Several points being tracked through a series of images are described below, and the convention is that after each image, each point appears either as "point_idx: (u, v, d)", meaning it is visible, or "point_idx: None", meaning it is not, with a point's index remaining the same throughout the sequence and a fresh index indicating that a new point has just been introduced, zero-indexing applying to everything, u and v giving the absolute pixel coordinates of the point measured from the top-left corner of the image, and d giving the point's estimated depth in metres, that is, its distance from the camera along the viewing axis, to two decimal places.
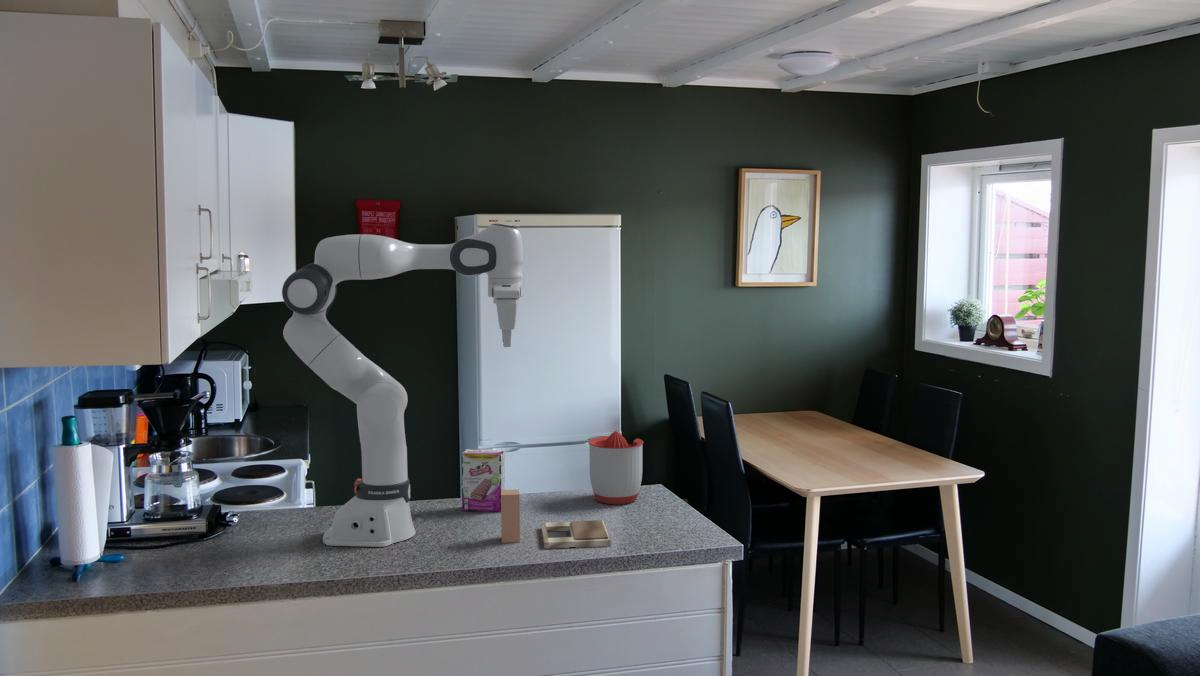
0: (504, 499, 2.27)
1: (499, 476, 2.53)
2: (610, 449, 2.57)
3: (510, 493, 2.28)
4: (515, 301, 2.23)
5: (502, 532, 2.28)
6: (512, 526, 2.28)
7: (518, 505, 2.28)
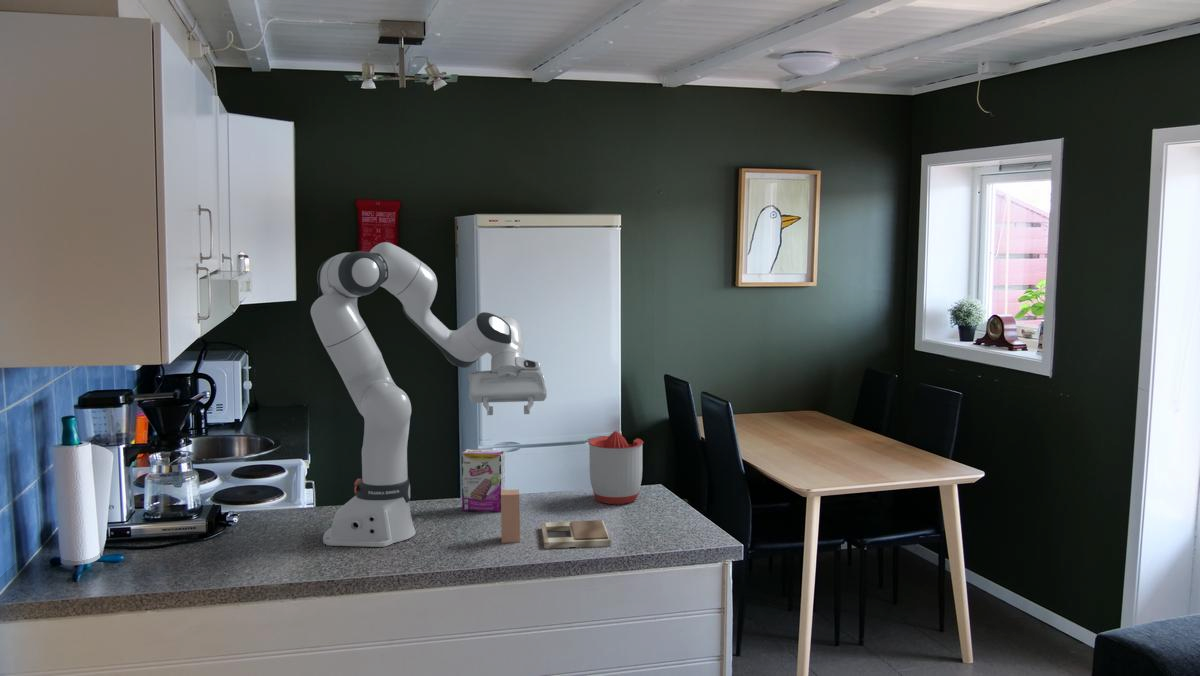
0: (504, 499, 2.27)
1: (499, 476, 2.53)
2: (610, 449, 2.57)
3: (510, 493, 2.28)
4: None
5: (502, 532, 2.28)
6: (512, 526, 2.28)
7: (518, 505, 2.28)
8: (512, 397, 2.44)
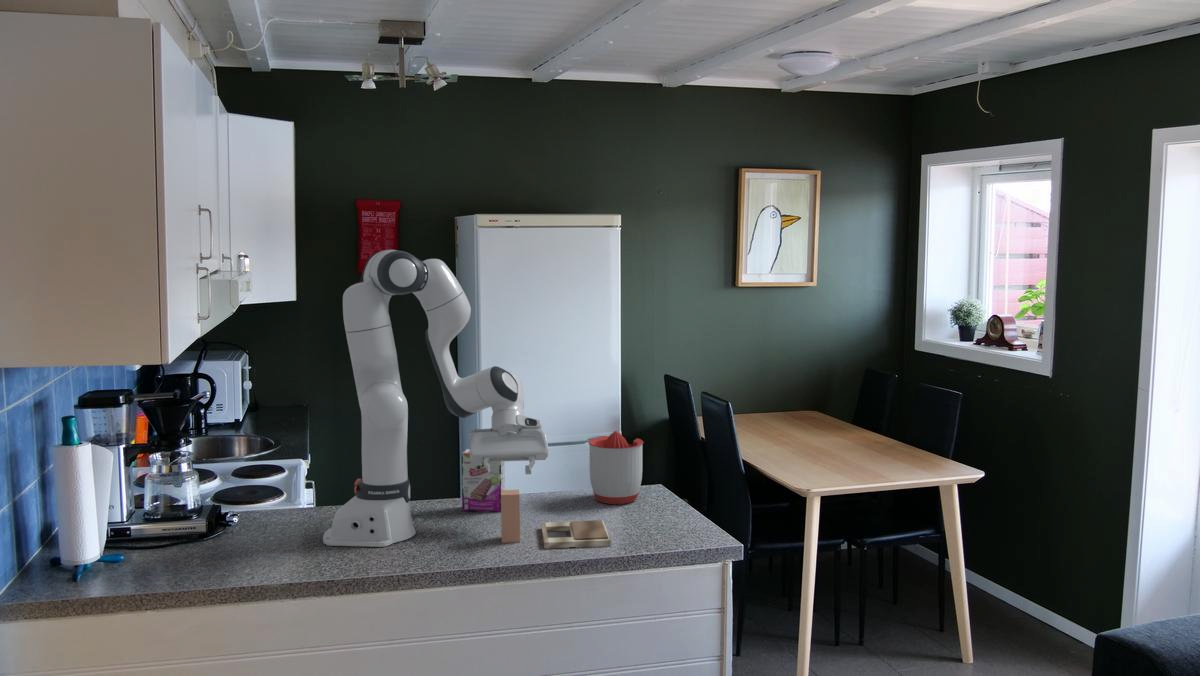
0: (504, 499, 2.27)
1: (499, 476, 2.53)
2: (610, 449, 2.57)
3: (510, 493, 2.28)
4: None
5: (502, 532, 2.28)
6: (512, 526, 2.28)
7: (518, 505, 2.28)
8: (513, 456, 2.40)
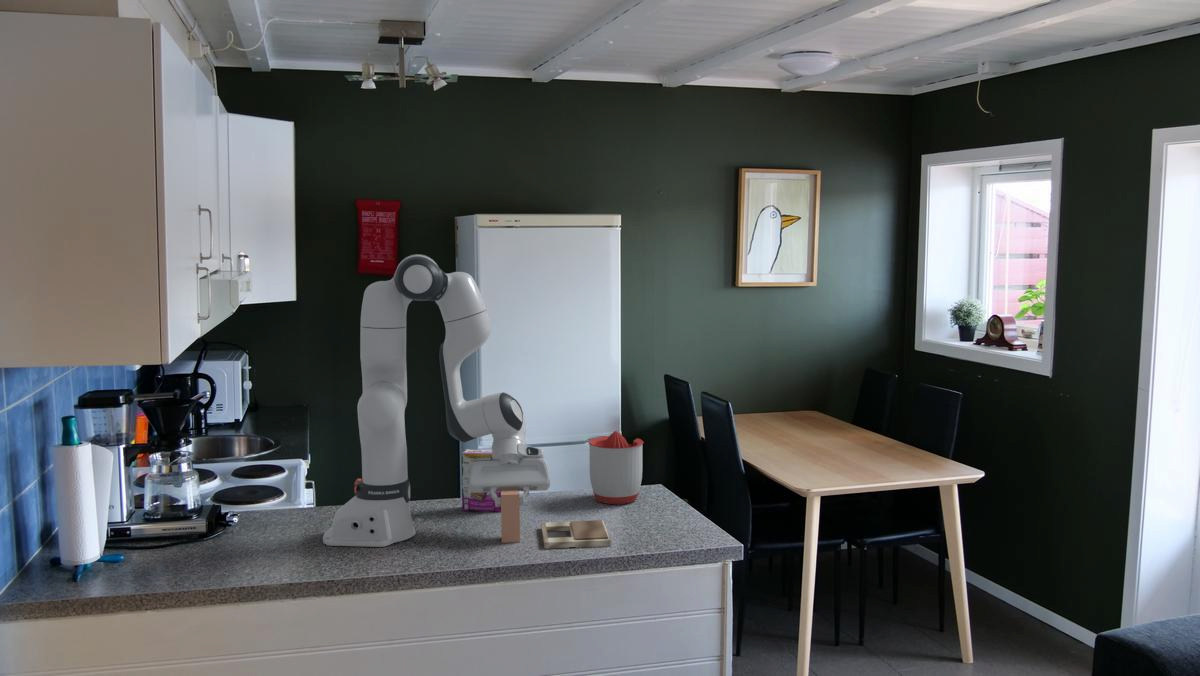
0: (504, 499, 2.27)
1: None
2: (610, 449, 2.57)
3: (510, 493, 2.28)
4: None
5: (502, 532, 2.28)
6: (512, 526, 2.28)
7: (518, 505, 2.28)
8: (514, 486, 2.33)
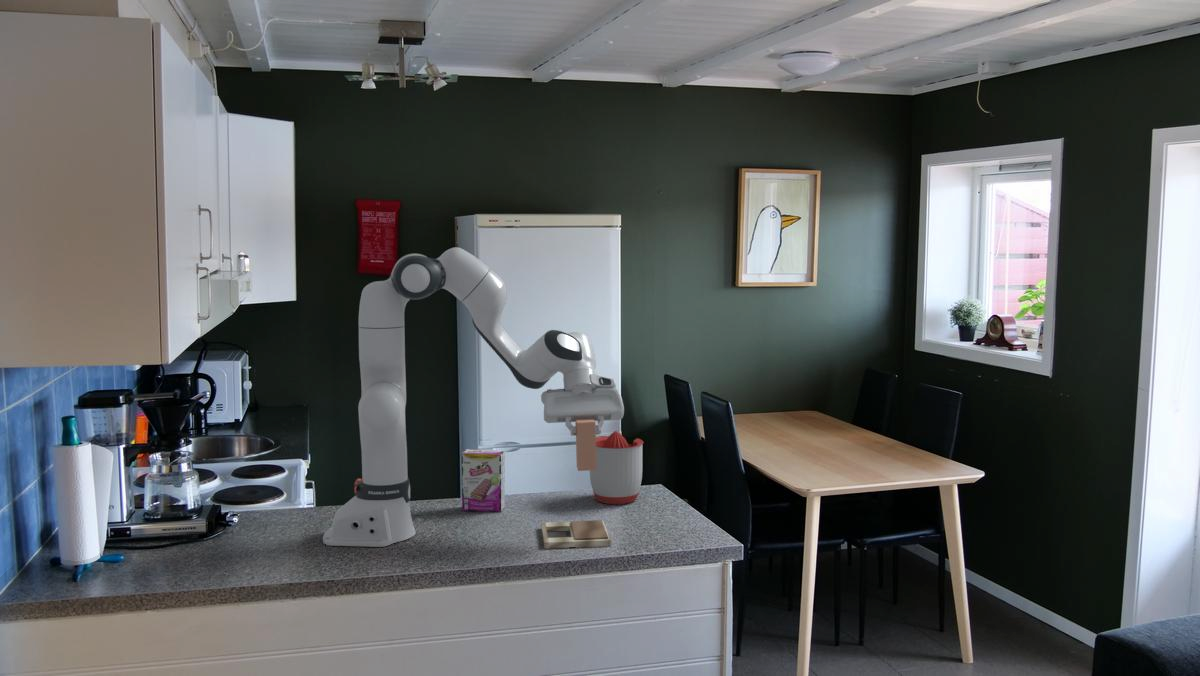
0: (580, 427, 2.28)
1: (499, 476, 2.53)
2: (610, 449, 2.57)
3: (585, 421, 2.29)
4: None
5: (579, 460, 2.29)
6: (589, 454, 2.29)
7: (594, 433, 2.28)
8: (588, 416, 2.34)
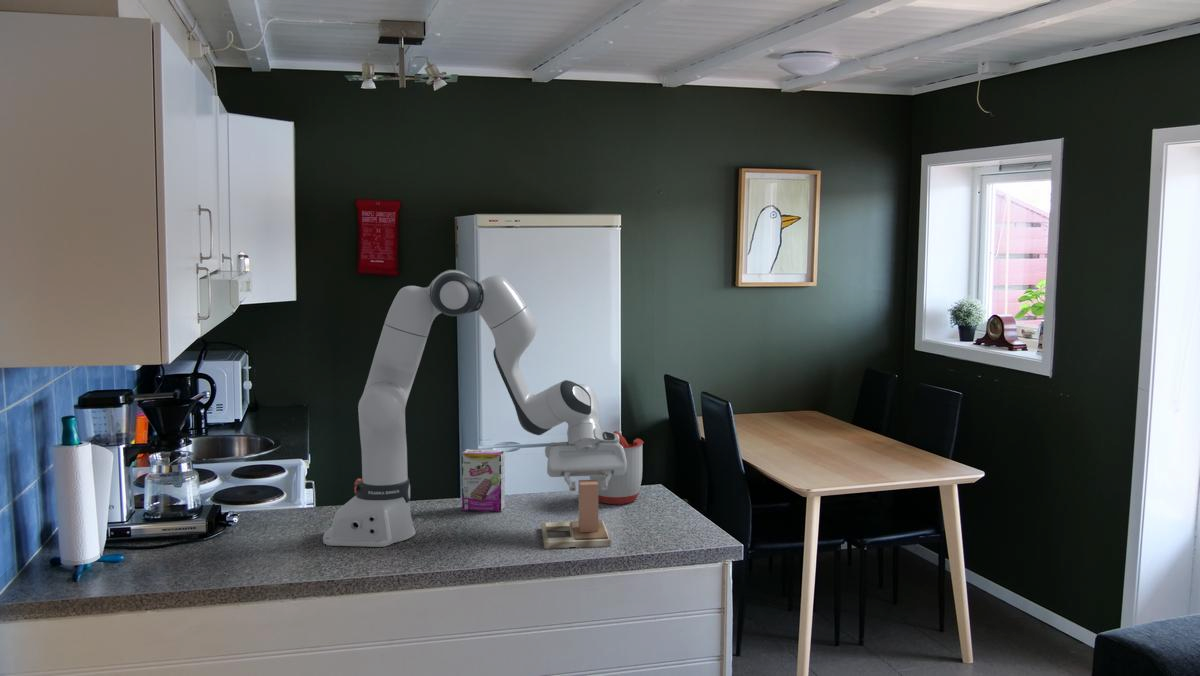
0: (583, 489, 2.29)
1: (499, 476, 2.53)
2: None
3: (588, 483, 2.30)
4: None
5: (581, 521, 2.30)
6: (591, 515, 2.30)
7: (597, 495, 2.30)
8: (591, 471, 2.35)
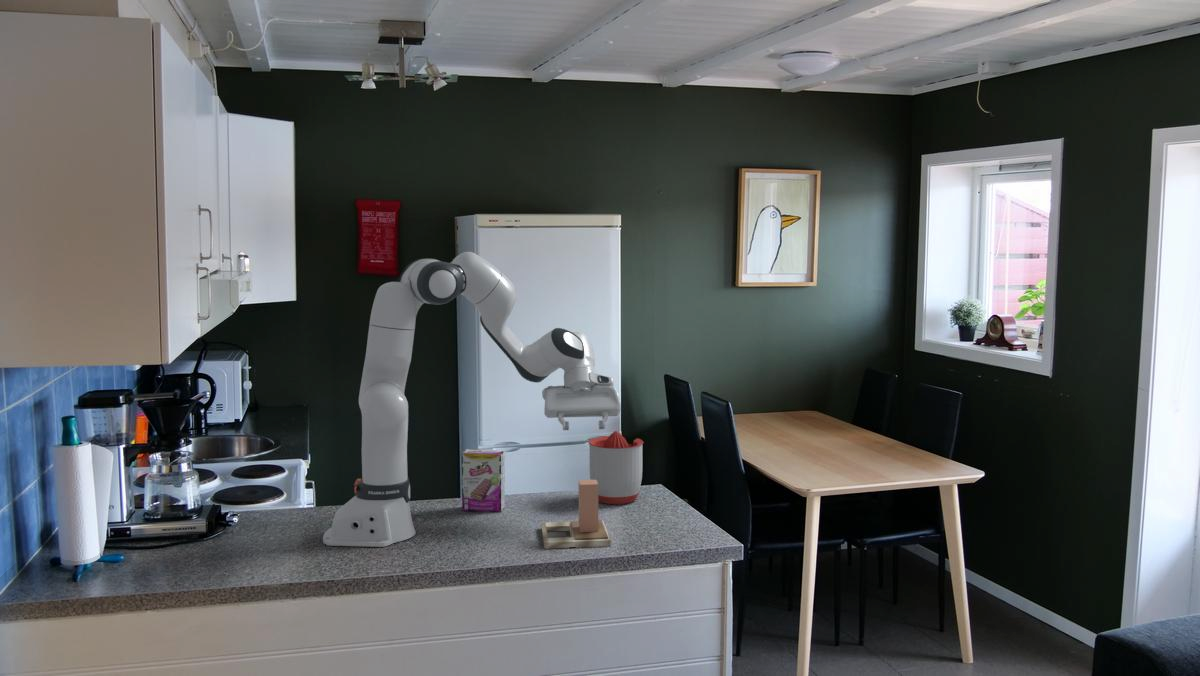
0: (583, 489, 2.29)
1: (499, 476, 2.53)
2: (610, 449, 2.57)
3: (588, 483, 2.30)
4: None
5: (581, 521, 2.30)
6: (591, 515, 2.30)
7: (597, 495, 2.30)
8: (587, 412, 2.46)
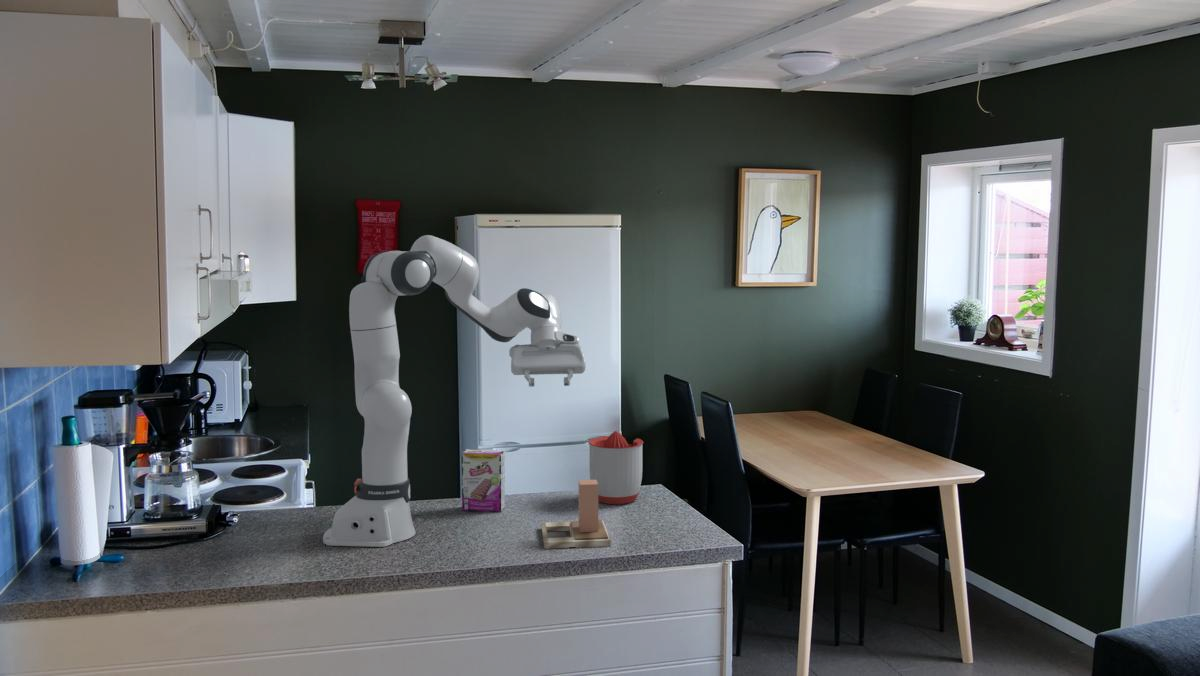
0: (583, 489, 2.29)
1: (499, 476, 2.53)
2: (610, 449, 2.57)
3: (588, 483, 2.30)
4: None
5: (581, 521, 2.30)
6: (591, 515, 2.30)
7: (597, 495, 2.30)
8: (552, 369, 2.52)
